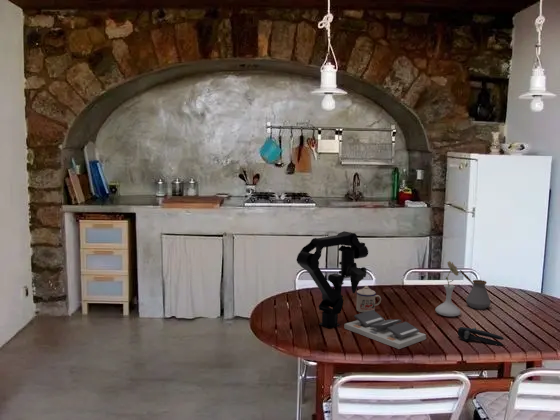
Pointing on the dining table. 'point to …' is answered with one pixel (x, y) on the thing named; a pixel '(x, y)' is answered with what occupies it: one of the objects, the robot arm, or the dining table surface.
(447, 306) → the flower in vase
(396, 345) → the switch panel
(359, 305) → the teacup with lid
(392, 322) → the panel
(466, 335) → the can opener
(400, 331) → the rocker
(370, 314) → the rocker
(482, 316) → the dining table surface
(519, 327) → the dining table surface
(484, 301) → the coffee pot
